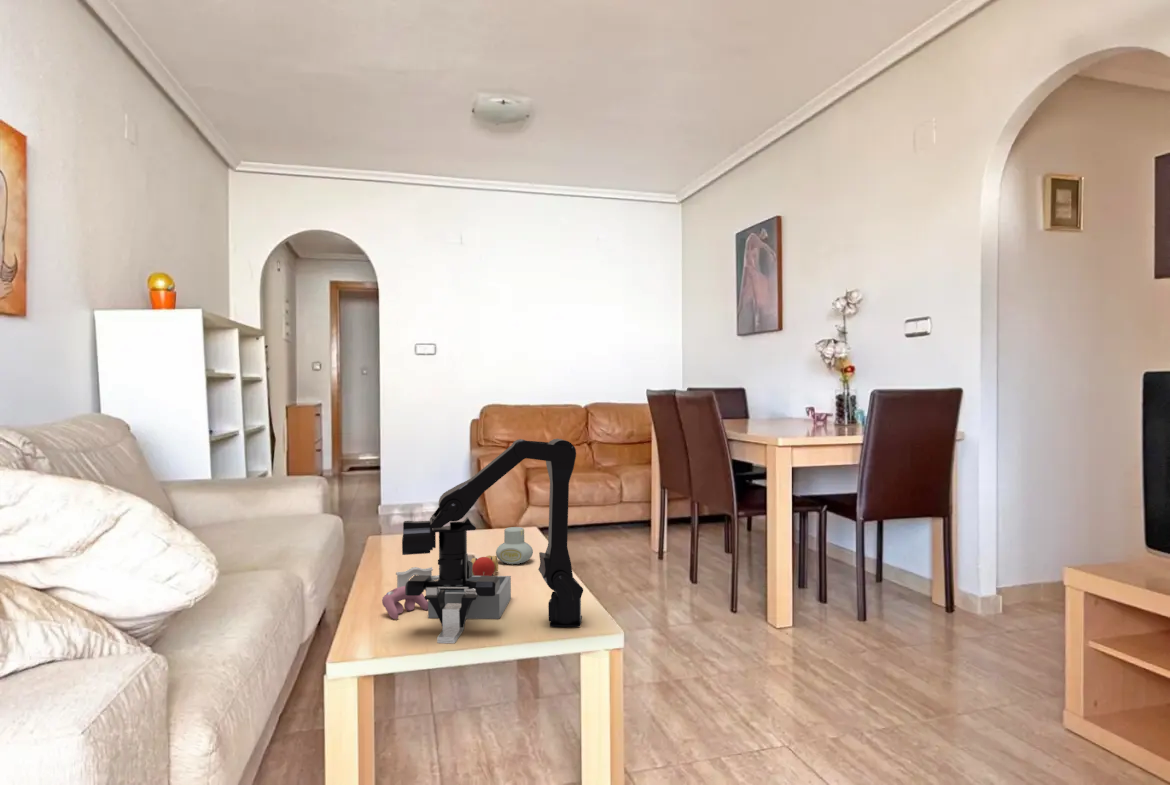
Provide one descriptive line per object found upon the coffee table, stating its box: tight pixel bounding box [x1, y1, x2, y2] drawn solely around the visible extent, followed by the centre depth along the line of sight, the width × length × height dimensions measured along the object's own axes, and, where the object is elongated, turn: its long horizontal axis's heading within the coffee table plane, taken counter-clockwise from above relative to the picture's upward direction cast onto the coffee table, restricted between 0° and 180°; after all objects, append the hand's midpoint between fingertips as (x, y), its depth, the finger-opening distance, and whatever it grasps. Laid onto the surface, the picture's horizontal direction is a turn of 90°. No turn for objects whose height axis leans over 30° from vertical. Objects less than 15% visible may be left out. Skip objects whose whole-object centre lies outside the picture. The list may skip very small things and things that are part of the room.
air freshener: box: [495, 526, 534, 565], centre depth 200 cm, size 11×8×10 cm
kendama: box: [470, 555, 499, 576], centre depth 188 cm, size 8×6×18 cm
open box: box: [427, 575, 512, 620], centre depth 157 cm, size 16×15×6 cm
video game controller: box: [381, 586, 428, 620], centre depth 154 cm, size 10×5×7 cm, turn 141°
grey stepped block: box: [436, 603, 465, 644], centre depth 138 cm, size 4×8×6 cm, turn 177°
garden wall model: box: [395, 566, 439, 588], centre depth 173 cm, size 12×2×6 cm, turn 121°
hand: (453, 626), depth 140 cm, fingers closed on grey stepped block, 3 cm apart
